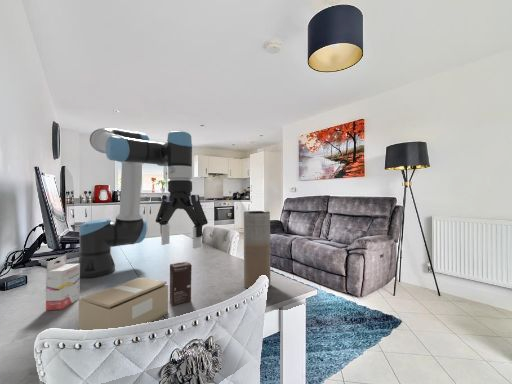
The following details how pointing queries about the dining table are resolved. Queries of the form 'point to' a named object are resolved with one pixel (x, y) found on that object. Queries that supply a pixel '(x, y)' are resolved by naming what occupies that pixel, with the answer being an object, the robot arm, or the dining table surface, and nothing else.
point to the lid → (123, 292)
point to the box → (180, 283)
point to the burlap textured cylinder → (256, 246)
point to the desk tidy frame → (71, 255)
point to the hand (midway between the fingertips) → (180, 245)
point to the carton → (125, 311)
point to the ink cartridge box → (61, 284)
